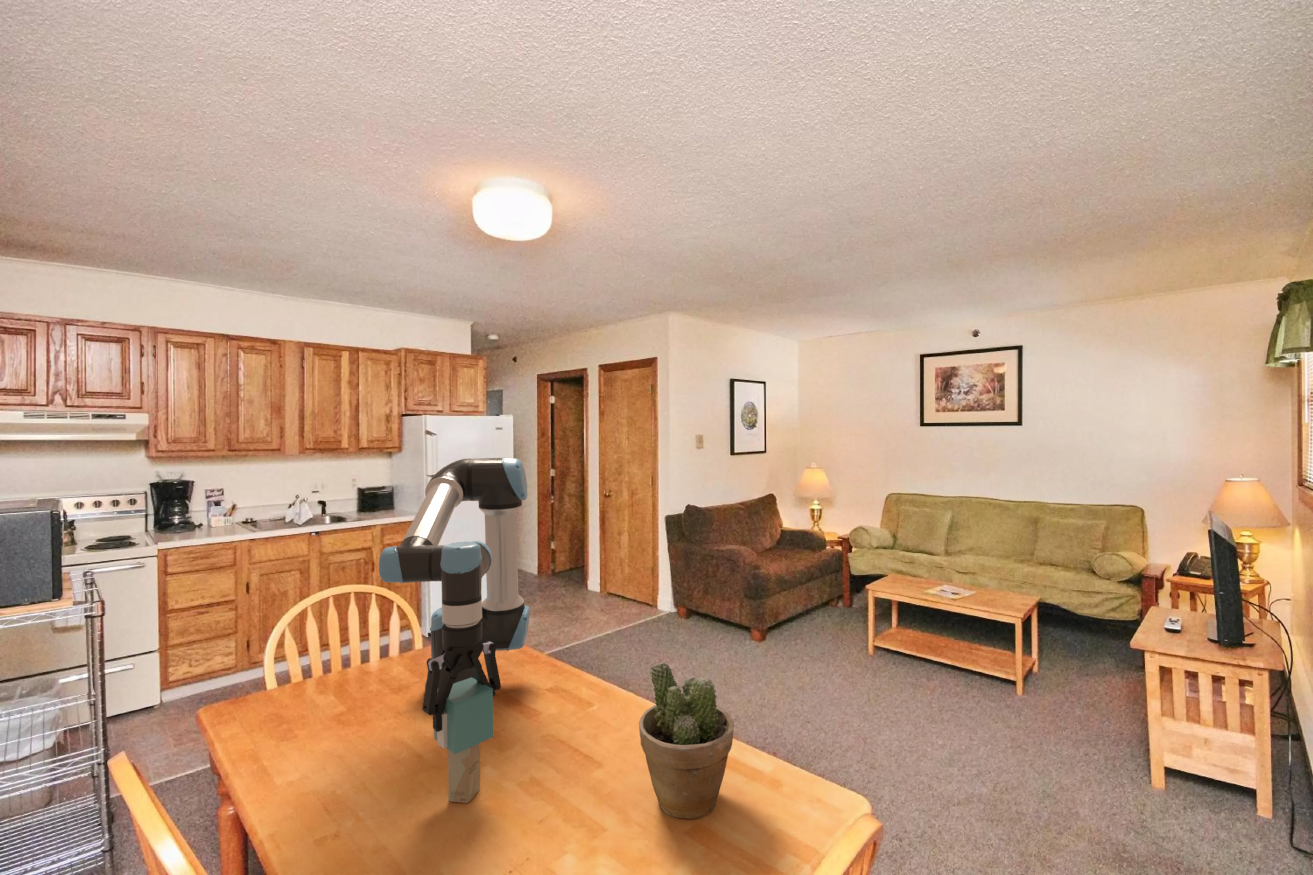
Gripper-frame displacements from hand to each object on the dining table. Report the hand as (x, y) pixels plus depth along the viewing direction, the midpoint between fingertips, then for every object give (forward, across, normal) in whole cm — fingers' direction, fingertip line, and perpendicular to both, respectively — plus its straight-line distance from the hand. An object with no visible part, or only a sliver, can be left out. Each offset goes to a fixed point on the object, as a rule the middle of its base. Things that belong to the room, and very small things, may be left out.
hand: (463, 736), depth 115 cm
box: (+12, 0, 0) cm, 12 cm away
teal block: (0, 0, 0) cm, 0 cm away
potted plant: (+12, -28, +34) cm, 46 cm away
